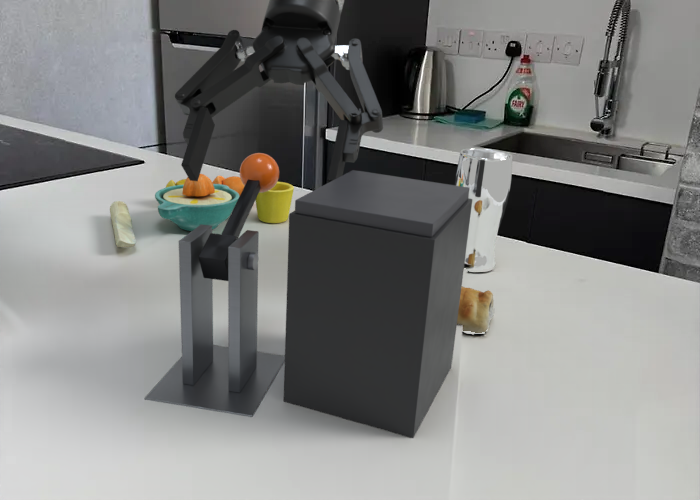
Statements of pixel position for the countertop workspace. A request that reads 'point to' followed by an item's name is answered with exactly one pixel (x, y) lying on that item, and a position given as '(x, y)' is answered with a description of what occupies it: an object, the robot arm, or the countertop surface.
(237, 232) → the lever
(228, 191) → the toy juicer set
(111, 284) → the countertop surface
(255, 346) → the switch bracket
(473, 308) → the pastry
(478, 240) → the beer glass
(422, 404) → the lidded storage box
